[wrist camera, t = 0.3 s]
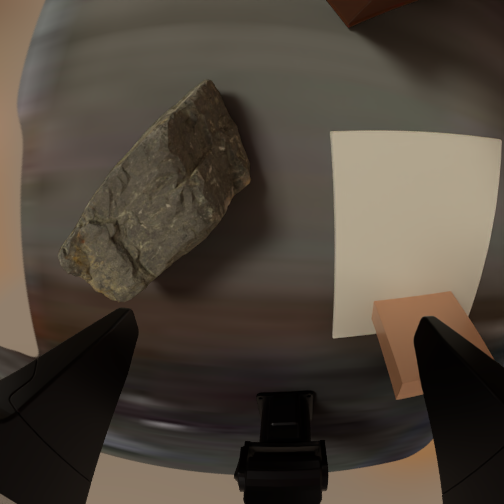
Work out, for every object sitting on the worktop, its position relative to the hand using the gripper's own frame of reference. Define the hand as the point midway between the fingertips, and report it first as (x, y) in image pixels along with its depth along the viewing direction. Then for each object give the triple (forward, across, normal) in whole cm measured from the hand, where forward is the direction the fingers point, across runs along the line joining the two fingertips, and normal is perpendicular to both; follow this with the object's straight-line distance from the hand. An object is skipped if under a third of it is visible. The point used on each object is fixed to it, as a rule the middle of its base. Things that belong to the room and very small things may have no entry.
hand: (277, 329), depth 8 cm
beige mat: (+14, -12, +4) cm, 19 cm away
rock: (+14, +8, 0) cm, 16 cm away
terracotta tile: (+14, -12, +10) cm, 21 cm away
